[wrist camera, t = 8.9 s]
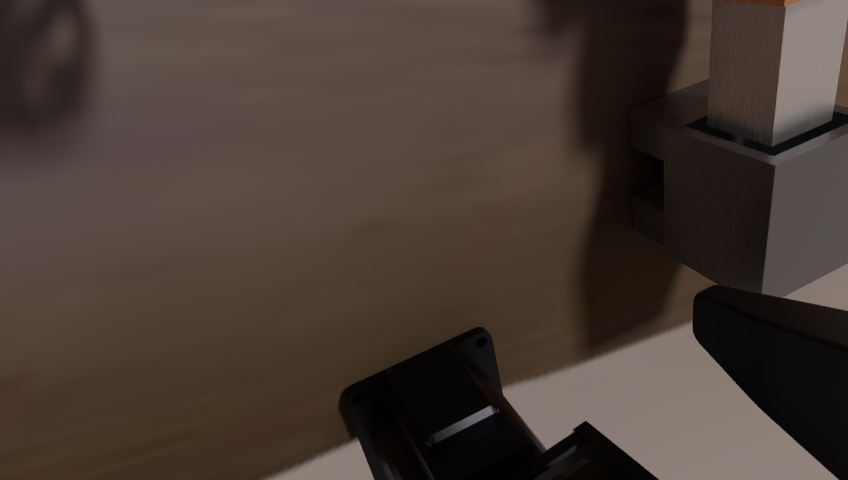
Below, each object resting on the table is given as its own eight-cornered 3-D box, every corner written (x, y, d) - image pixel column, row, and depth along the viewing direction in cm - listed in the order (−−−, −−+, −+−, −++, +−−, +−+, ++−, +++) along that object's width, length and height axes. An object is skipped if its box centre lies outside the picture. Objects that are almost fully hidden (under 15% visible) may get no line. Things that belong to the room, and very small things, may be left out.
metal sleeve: (709, 193, 27) (855, 258, 22) (627, 230, 26) (759, 309, 21) (714, 76, 25) (885, 116, 19) (623, 112, 23) (775, 166, 18)
